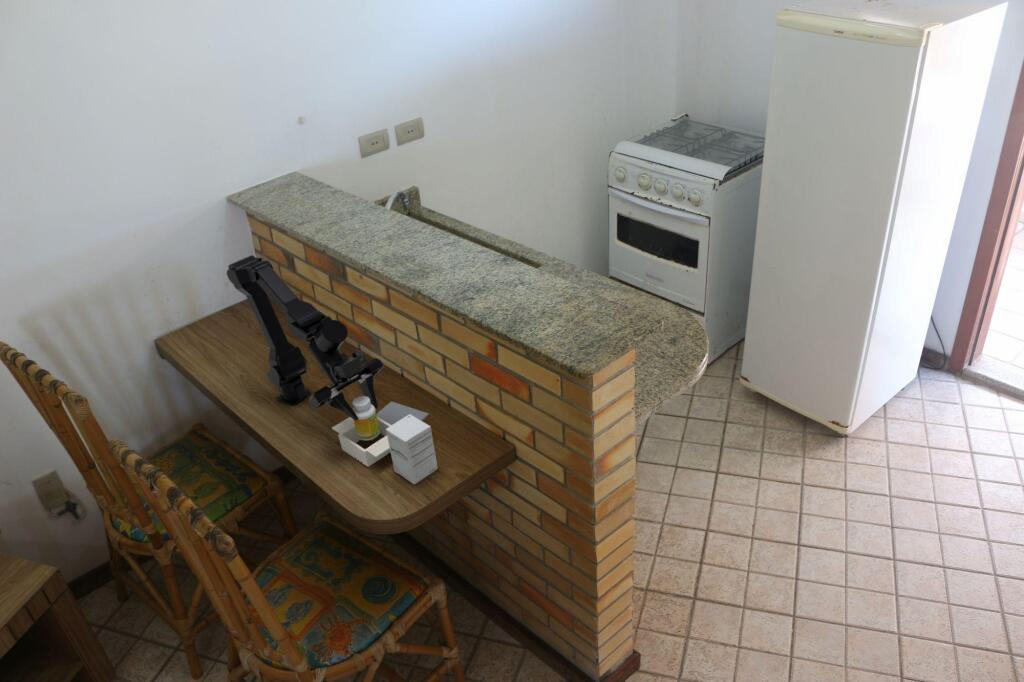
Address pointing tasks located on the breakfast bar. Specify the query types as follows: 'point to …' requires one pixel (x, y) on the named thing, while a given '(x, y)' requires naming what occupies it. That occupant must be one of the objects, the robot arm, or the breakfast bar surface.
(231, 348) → the breakfast bar surface
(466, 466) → the breakfast bar surface
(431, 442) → the supplement box
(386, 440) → the carton
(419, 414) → the mat
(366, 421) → the supplement bottle
